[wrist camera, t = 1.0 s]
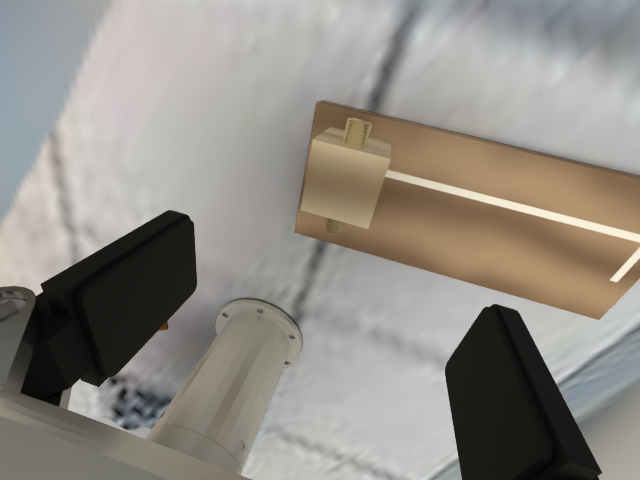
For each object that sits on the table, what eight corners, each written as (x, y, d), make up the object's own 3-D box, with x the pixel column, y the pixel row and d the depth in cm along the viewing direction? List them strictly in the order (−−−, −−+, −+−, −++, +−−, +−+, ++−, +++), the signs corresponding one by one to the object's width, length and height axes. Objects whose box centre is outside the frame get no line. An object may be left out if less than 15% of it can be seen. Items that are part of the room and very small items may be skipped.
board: (583, 301, 28) (599, 320, 26) (301, 222, 31) (294, 232, 29) (686, 187, 22) (718, 198, 20) (323, 100, 25) (316, 102, 23)
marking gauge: (368, 214, 26) (362, 246, 21) (315, 199, 27) (297, 228, 21) (397, 121, 22) (398, 133, 17) (334, 106, 22) (317, 113, 17)
